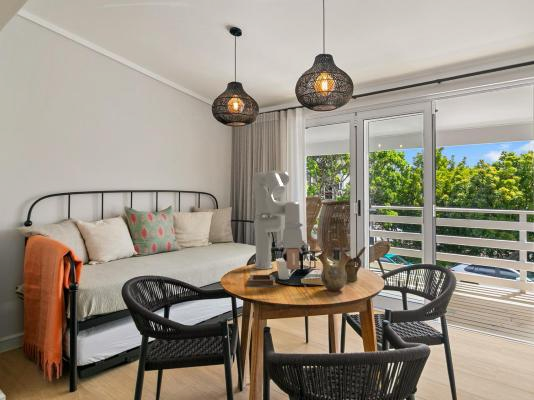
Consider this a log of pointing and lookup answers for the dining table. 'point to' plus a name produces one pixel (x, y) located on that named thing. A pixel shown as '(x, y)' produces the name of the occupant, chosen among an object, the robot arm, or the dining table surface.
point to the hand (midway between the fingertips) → (292, 260)
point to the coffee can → (339, 253)
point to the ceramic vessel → (333, 269)
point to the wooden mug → (353, 267)
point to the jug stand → (261, 281)
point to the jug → (292, 259)
